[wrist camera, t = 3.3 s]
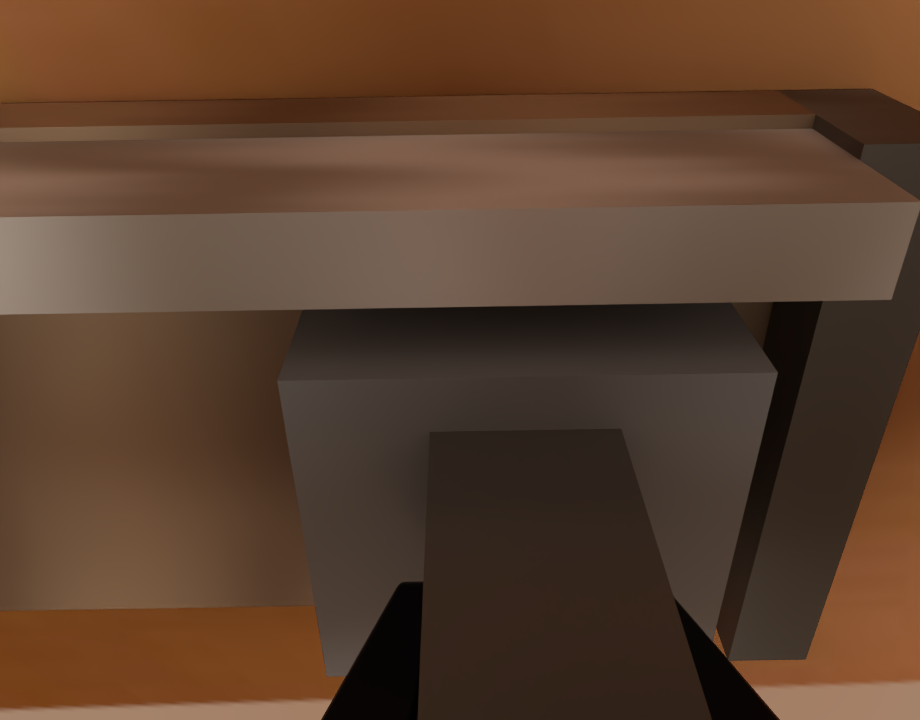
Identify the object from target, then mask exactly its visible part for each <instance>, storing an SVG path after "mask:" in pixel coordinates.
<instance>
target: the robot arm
mask: <svg viewBox="0 0 920 720" xmlns="http://www.w3.org/2000/svg"><path fill="white" fill-rule="evenodd" d="M673 597H674V596H673ZM674 600H675V603H676V606H677V609H678V613H679V616H680V619H681V622H682V625H683V629H684V632H685V635H686V638H687V641H688V645H689V648H690V651H691V654H692V657H693V661H694V664H695V667H696V670H697V674H698V677H699V680H700V683H701V686H702V690H703V693H704V696H705V699H706V702H707V706H708V709H709V712H710V715H711V718H712V720H780V719H779V718H778V717H777V716H776V715H775V714H774V713H773V711H772V710H771V709H770V708H769V707H768V705H767V704H766V703H765V702H764V701H763V700H762V699H761V697H760V696H759V695H758V694H757V693H756V692H755V690H754V689H753V688H752V687H751V686H750V685H749V683H748V682H747V681H746V680H745V679H744V678H743V676H742V675H741V674H740V673H739V672H738V671H737V669H736V668H735V667H734V666H733V665H732V664H731V662H730V661H729V660H728V659H727V658H726V657H725V655H724V654H723V653H722V652H721V651H720V650H719V648H718V647H717V646H716V645H715V644H714V643H713V642H712V640H711V639H710V638H709V637H708V636H707V635H706V633H705V632H704V631H703V630H702V629H701V628H700V626H699V625H698V624H697V623H696V622H695V621H694V619H693V618H692V617H691V616H690V615H689V614H688V612H687V611H686V610H685V609H684V608H683V607H682V605H681V604H680V603H679V602H678V601H677V600H676V598H675V597H674ZM422 603H423V581H412V582H402V583H400V584H399V585H398V586H397V587H396V589H395V591H394V592H393V594H392V596H391V598H390V600H389V601H388V603H387V605H386V607H385V608H384V610H383V612H382V614H381V615H380V617H379V619H378V621H377V622H376V624H375V626H374V628H373V629H372V631H371V633H370V635H369V637H368V638H367V640H366V642H365V644H364V645H363V647H362V649H361V651H360V652H359V654H358V656H357V658H356V659H355V661H354V663H353V665H352V666H351V668H350V670H349V672H348V673H347V675H346V677H345V679H344V681H343V682H342V684H341V686H340V688H339V689H338V691H337V693H336V695H335V696H334V698H333V700H332V702H331V704H330V705H329V707H328V709H327V710H326V712H325V714H324V716H323V718H322V719H321V720H418V697H419V674H420V650H421V627H422Z"/></svg>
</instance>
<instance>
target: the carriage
mask: <svg viewBox="0 0 920 720" xmlns="http://www.w3.org/2000/svg"><path fill="white" fill-rule="evenodd" d="M777 374H778V372H777V371H776V369H775V368H774V366H773V365H772V363H771V362H770V360H769V359H768V357H767V356H766V354H765V353H764V351H763V350H762V348H761V347H760V345H759V344H758V342H757V341H756V339H755V338H754V336H753V335H752V333H751V332H750V330H749V329H748V327H747V326H746V324H745V323H744V321H743V320H742V318H741V317H740V315H739V314H738V313H737V311H736V310H735V308H734V307H733V305H732V304H731V302H728V303H668V304H608V305H547V306H487V307H427V308H367V309H307V310H302V313H301V316H300V319H299V321H298V324H297V327H296V330H295V333H294V335H293V338H292V341H291V344H290V347H289V349H288V352H287V355H286V358H285V361H284V364H283V366H282V369H281V372H280V375H279V378H278V380H277V382H278V388H279V394H280V400H281V406H282V412H283V418H284V424H285V430H286V436H287V442H288V448H289V454H290V460H291V466H292V472H293V477H294V483H295V489H296V495H297V501H298V507H299V513H300V519H301V525H302V531H303V537H304V543H305V549H306V555H307V561H308V567H309V573H310V579H311V585H312V591H313V597H314V603H315V609H316V615H317V621H318V627H319V633H320V638H321V644H322V650H323V656H324V662H325V668H326V674H327V677H329V676H346V675H347V673H348V672H349V670H350V668H351V666H352V665H353V663H354V661H355V659H356V658H357V656H358V654H359V652H360V651H361V649H362V647H363V645H364V644H365V642H366V640H367V638H368V637H369V635H370V633H371V631H372V629H373V628H374V626H375V624H376V622H377V621H378V619H379V617H380V615H381V614H382V612H383V610H384V608H385V607H386V605H387V603H388V601H389V600H390V598H391V596H392V594H393V592H394V591H395V589H396V587H397V586H398V585H399V584H400V583H402V582H412V581H423V603H422V627H421V650H420V674H419V697H418V720H712V718H711V715H710V712H709V709H708V706H707V702H706V699H705V696H704V693H703V690H702V686H701V683H700V680H699V677H698V674H697V670H696V667H695V664H694V661H693V657H692V654H691V651H690V648H689V645H688V641H687V638H686V635H685V632H684V629H683V625H682V622H681V619H680V616H679V613H678V609H677V606H676V603H675V600H674V597H675V598H676V600H677V601H678V602H679V603H680V604H681V605H682V607H683V608H684V609H685V610H686V611H687V612H688V614H689V615H690V616H691V617H692V618H693V619H694V621H695V622H696V623H697V624H698V625H699V626H700V628H701V629H702V630H703V631H704V632H705V633H706V635H707V636H708V637H709V638H710V639H711V640H712V642H713V638H714V634H715V630H716V626H717V622H718V617H719V613H720V609H721V605H722V601H723V597H724V593H725V589H726V584H727V580H728V576H729V572H730V568H731V564H732V560H733V556H734V551H735V547H736V543H737V539H738V535H739V531H740V527H741V523H742V518H743V514H744V510H745V506H746V502H747V498H748V494H749V490H750V485H751V481H752V477H753V473H754V469H755V465H756V461H757V457H758V452H759V448H760V444H761V440H762V436H763V432H764V428H765V424H766V419H767V415H768V411H769V407H770V403H771V399H772V395H773V391H774V386H775V382H776V378H777ZM673 596H674V597H673Z"/></svg>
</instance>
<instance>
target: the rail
mask: <svg viewBox="0 0 920 720" xmlns="http://www.w3.org/2000/svg"><path fill="white" fill-rule="evenodd" d="M728 302H731V304H732V305H733V307H734V308H735V310H736V311H737V313H738V314H739V315H740V317H741V318H742V320H743V321H744V323H745V324H746V326H747V327H748V329H749V330H750V332H751V333H752V335H753V336H754V338H755V339H756V341H757V342H758V344H759V345H760V347H761V348H762V350H763V351H764V353H765V354H766V356H767V357H768V359H769V360H770V362H771V363H772V365H773V366H774V368H775V369H776V371H777V372H778V374H777V378H776V382H775V386H774V391H773V395H772V399H771V403H770V407H769V411H768V415H767V419H766V424H765V428H764V432H763V436H762V440H761V444H760V448H759V452H758V457H757V461H756V465H755V469H754V473H753V477H752V481H751V485H750V490H749V494H748V498H747V502H746V506H745V510H744V514H743V518H742V523H741V527H740V531H739V535H738V539H737V543H736V547H735V551H734V556H733V560H732V564H731V568H730V572H729V576H728V580H727V584H726V589H725V593H724V597H723V601H722V605H721V609H720V613H719V617H718V622H717V626H716V628H717V631H718V634H719V637H720V640H721V642H722V645H723V648H724V651H725V654H726V656H727V659H728V660H729V661H742V660H803V659H806V657H807V654H808V651H809V648H810V645H811V642H812V639H813V637H814V634H815V631H816V628H817V625H818V622H819V619H820V616H821V613H822V611H823V608H824V605H825V602H826V599H827V596H828V593H829V590H830V587H831V585H832V582H833V579H834V576H835V573H836V570H837V567H838V564H839V561H840V559H841V556H842V553H843V550H844V547H845V544H846V541H847V538H848V535H849V533H850V530H851V527H852V524H853V521H854V518H855V515H856V512H857V509H858V507H859V504H860V501H861V498H862V495H863V492H864V489H865V486H866V483H867V481H868V478H869V475H870V472H871V469H872V466H873V463H874V460H875V457H876V455H877V452H878V449H879V446H880V443H881V440H882V437H883V434H884V431H885V429H886V426H887V423H888V420H889V417H890V414H891V411H892V408H893V405H894V403H895V400H896V397H897V394H898V391H899V388H900V385H901V382H902V379H903V377H904V374H905V371H906V368H907V365H908V362H909V359H910V356H911V353H912V351H913V348H914V345H915V342H916V339H917V336H918V333H919V330H920V111H917V110H915V109H913V108H911V107H909V106H907V105H905V104H903V103H901V102H899V101H897V100H894V99H892V98H890V97H888V96H886V95H884V94H882V93H880V92H878V91H876V90H874V89H833V90H774V91H714V92H655V93H596V94H537V95H478V96H418V97H359V98H300V99H241V100H181V101H122V102H63V103H4V104H0V611H22V610H83V609H145V608H206V607H267V606H315V603H314V597H313V591H312V585H311V579H310V573H309V567H308V561H307V555H306V549H305V543H304V537H303V531H302V525H301V519H300V513H299V507H298V501H297V495H296V489H295V483H294V477H293V472H292V466H291V460H290V454H289V448H288V442H287V436H286V430H285V424H284V418H283V412H282V406H281V400H280V394H279V388H278V382H277V380H278V378H279V375H280V372H281V369H282V366H283V364H284V361H285V358H286V355H287V352H288V349H289V347H290V344H291V341H292V338H293V335H294V333H295V330H296V327H297V324H298V321H299V319H300V316H301V313H302V310H307V309H367V308H427V307H487V306H547V305H608V304H668V303H728Z"/></svg>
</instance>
